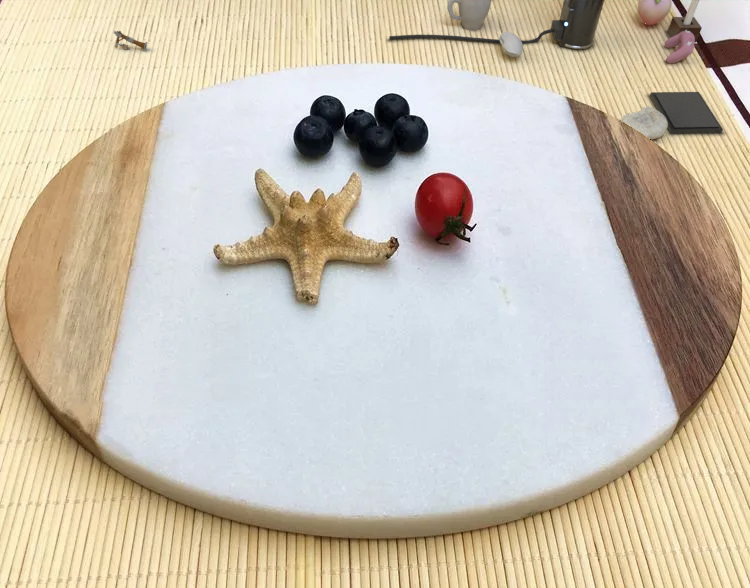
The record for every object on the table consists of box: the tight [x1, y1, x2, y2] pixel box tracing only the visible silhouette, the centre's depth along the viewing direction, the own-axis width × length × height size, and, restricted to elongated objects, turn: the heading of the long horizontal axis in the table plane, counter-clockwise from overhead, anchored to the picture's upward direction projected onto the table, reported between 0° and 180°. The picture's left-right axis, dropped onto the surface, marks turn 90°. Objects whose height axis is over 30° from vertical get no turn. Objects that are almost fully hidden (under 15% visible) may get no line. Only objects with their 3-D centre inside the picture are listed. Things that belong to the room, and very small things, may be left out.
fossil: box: [620, 105, 668, 141], centre depth 154 cm, size 11×4×10 cm
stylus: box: [683, 0, 700, 25], centre depth 177 cm, size 2×2×13 cm
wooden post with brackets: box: [113, 30, 148, 52], centre depth 171 cm, size 2×8×4 cm, turn 88°
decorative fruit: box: [637, 0, 673, 26], centre depth 182 cm, size 9×8×10 cm
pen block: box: [666, 16, 703, 44], centre depth 181 cm, size 6×6×4 cm
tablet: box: [649, 91, 724, 135], centre depth 159 cm, size 12×16×1 cm
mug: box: [446, 0, 493, 31], centre depth 180 cm, size 12×9×10 cm
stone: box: [498, 31, 524, 58], centre depth 172 cm, size 10×5×5 cm, turn 15°
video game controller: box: [663, 30, 696, 64], centre depth 174 cm, size 10×5×7 cm, turn 168°
